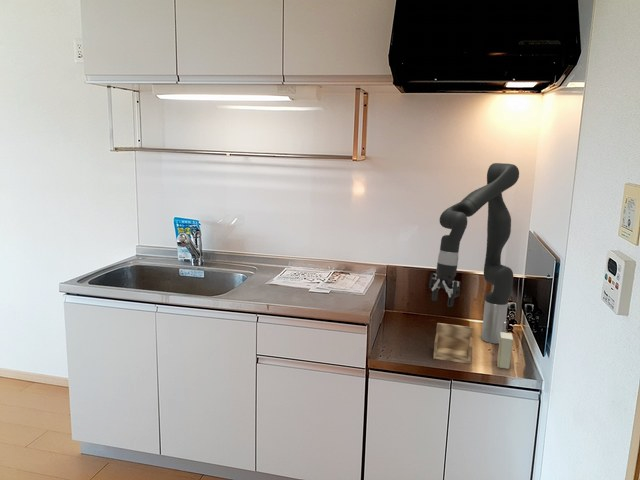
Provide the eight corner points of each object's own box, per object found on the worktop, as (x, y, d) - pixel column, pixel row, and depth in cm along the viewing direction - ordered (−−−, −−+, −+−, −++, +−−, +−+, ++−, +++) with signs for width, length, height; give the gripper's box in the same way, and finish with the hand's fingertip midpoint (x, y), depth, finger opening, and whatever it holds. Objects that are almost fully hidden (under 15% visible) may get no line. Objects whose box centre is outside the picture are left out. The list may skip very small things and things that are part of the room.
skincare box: (496, 360, 196) (499, 331, 193) (508, 362, 194) (512, 333, 192) (497, 367, 190) (500, 337, 187) (509, 369, 188) (513, 339, 186)
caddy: (470, 352, 202) (473, 327, 200) (470, 363, 192) (473, 336, 190) (435, 348, 206) (437, 322, 204) (433, 358, 196) (435, 331, 194)
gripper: (468, 266, 188) (462, 308, 191) (441, 258, 201) (436, 298, 203) (453, 266, 185) (447, 309, 187) (427, 258, 197) (422, 298, 199)
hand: (441, 303), depth 195 cm, fingers open, 8 cm apart
